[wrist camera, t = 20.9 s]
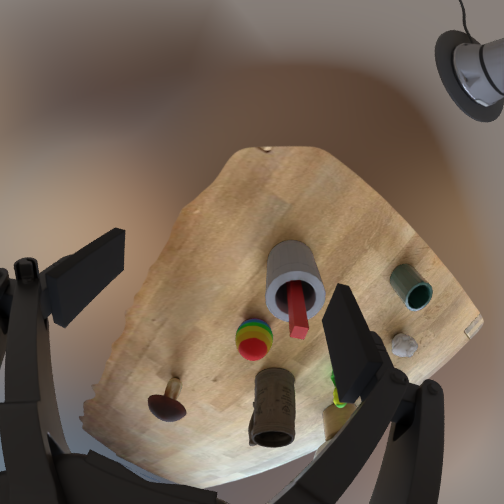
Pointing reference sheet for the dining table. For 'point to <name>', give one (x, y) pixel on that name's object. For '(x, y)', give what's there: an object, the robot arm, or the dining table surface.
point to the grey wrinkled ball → (404, 345)
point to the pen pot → (411, 287)
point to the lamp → (335, 421)
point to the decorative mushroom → (168, 403)
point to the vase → (293, 278)
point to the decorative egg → (254, 339)
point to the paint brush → (296, 310)
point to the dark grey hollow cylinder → (273, 409)
